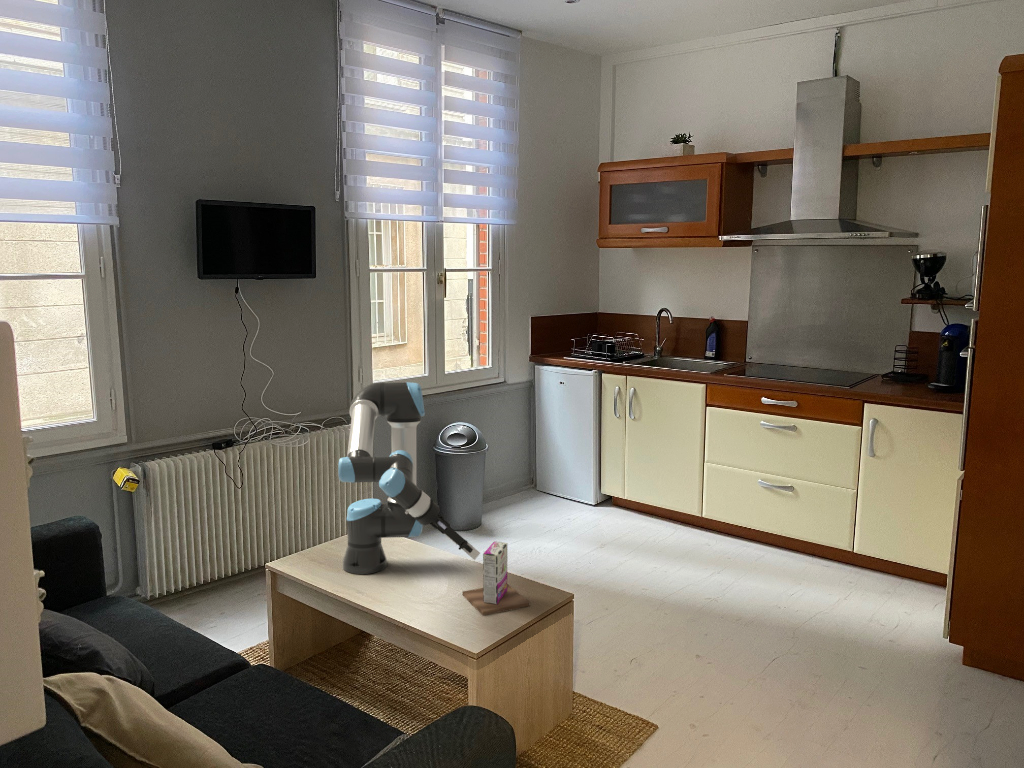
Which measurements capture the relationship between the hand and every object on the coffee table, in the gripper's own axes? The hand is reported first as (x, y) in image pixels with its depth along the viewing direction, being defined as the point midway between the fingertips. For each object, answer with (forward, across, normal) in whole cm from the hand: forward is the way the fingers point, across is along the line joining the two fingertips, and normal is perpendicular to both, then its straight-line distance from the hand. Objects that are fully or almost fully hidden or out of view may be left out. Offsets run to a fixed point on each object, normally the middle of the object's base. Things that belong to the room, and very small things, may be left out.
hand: (468, 548), depth 243 cm
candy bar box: (+19, 0, -6) cm, 20 cm away
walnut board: (+20, 0, -6) cm, 21 cm away
